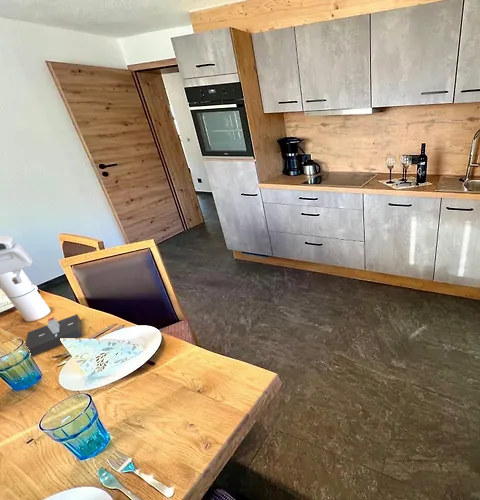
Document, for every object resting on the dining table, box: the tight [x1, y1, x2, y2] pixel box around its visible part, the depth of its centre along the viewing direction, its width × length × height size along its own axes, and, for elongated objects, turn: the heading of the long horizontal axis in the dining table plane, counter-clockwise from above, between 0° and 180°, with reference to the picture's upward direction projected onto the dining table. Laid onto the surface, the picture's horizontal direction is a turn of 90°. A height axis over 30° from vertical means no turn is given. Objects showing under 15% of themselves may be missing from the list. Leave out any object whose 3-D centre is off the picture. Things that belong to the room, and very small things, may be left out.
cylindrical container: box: [0, 269, 51, 322], centre depth 105 cm, size 7×7×25 cm
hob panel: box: [25, 314, 83, 357], centre depth 98 cm, size 13×11×3 cm
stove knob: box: [47, 316, 60, 334], centre depth 97 cm, size 5×2×4 cm, turn 41°
